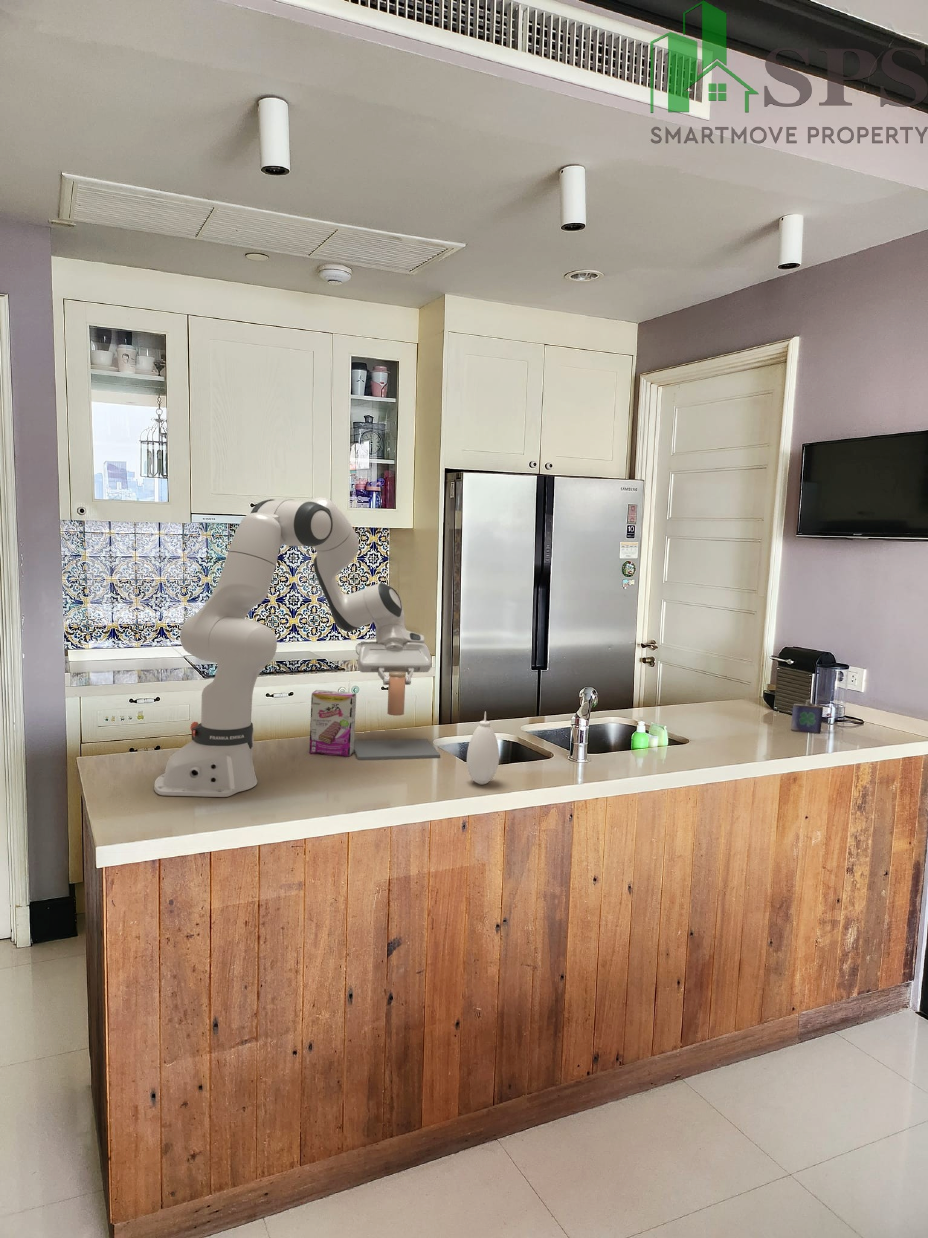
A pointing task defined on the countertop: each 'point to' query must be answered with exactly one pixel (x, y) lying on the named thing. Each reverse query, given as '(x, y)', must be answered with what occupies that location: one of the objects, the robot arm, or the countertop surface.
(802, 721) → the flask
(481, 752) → the white air blower bulb
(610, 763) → the countertop surface
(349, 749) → the candy bar box
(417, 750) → the mat
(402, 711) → the spice jar
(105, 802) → the countertop surface
